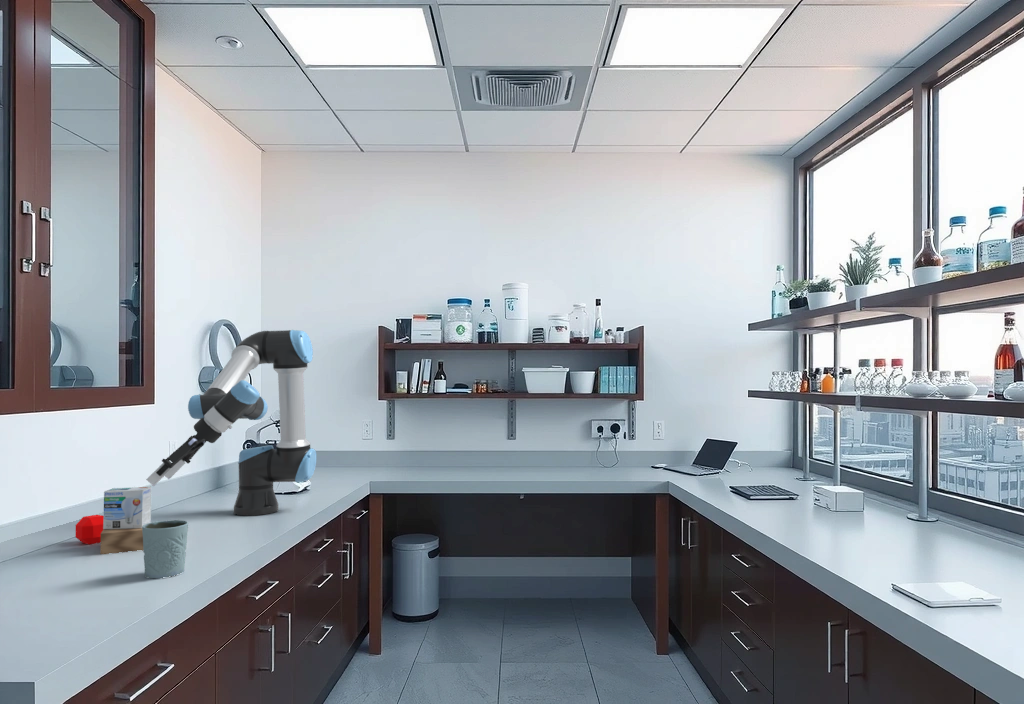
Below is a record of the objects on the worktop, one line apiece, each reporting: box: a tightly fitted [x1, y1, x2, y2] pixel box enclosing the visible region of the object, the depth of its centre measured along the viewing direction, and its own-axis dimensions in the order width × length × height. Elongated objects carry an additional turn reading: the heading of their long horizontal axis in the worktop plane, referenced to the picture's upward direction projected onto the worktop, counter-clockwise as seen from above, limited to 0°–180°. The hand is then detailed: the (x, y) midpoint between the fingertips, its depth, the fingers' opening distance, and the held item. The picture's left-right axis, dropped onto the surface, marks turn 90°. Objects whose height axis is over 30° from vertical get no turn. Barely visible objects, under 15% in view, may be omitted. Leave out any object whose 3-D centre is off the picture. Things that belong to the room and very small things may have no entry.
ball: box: [74, 514, 104, 545], centre depth 210 cm, size 8×8×8 cm
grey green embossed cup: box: [142, 519, 189, 579], centre depth 172 cm, size 10×10×12 cm
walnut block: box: [99, 528, 144, 555], centre depth 203 cm, size 11×14×6 cm
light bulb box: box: [103, 486, 152, 529], centre depth 204 cm, size 11×7×11 cm, turn 98°
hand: (158, 479), depth 205 cm, fingers open, 13 cm apart
